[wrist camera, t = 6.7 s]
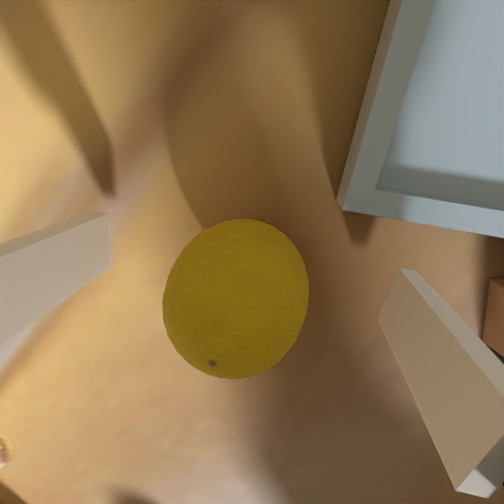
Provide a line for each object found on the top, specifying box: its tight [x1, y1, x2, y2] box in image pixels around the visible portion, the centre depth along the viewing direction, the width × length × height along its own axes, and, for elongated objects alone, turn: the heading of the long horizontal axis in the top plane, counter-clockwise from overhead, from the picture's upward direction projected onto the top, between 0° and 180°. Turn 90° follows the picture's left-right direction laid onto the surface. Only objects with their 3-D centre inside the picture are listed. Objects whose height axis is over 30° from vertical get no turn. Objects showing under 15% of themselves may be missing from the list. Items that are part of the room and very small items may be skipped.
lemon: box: [163, 219, 309, 379], centre depth 11 cm, size 6×6×8 cm
